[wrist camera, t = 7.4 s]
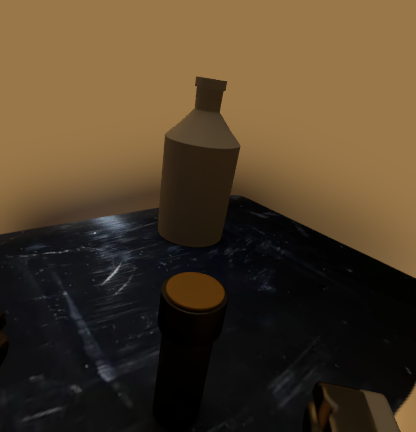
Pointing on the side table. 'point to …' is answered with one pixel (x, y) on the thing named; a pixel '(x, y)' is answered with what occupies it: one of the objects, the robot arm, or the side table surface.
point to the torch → (186, 345)
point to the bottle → (198, 171)
